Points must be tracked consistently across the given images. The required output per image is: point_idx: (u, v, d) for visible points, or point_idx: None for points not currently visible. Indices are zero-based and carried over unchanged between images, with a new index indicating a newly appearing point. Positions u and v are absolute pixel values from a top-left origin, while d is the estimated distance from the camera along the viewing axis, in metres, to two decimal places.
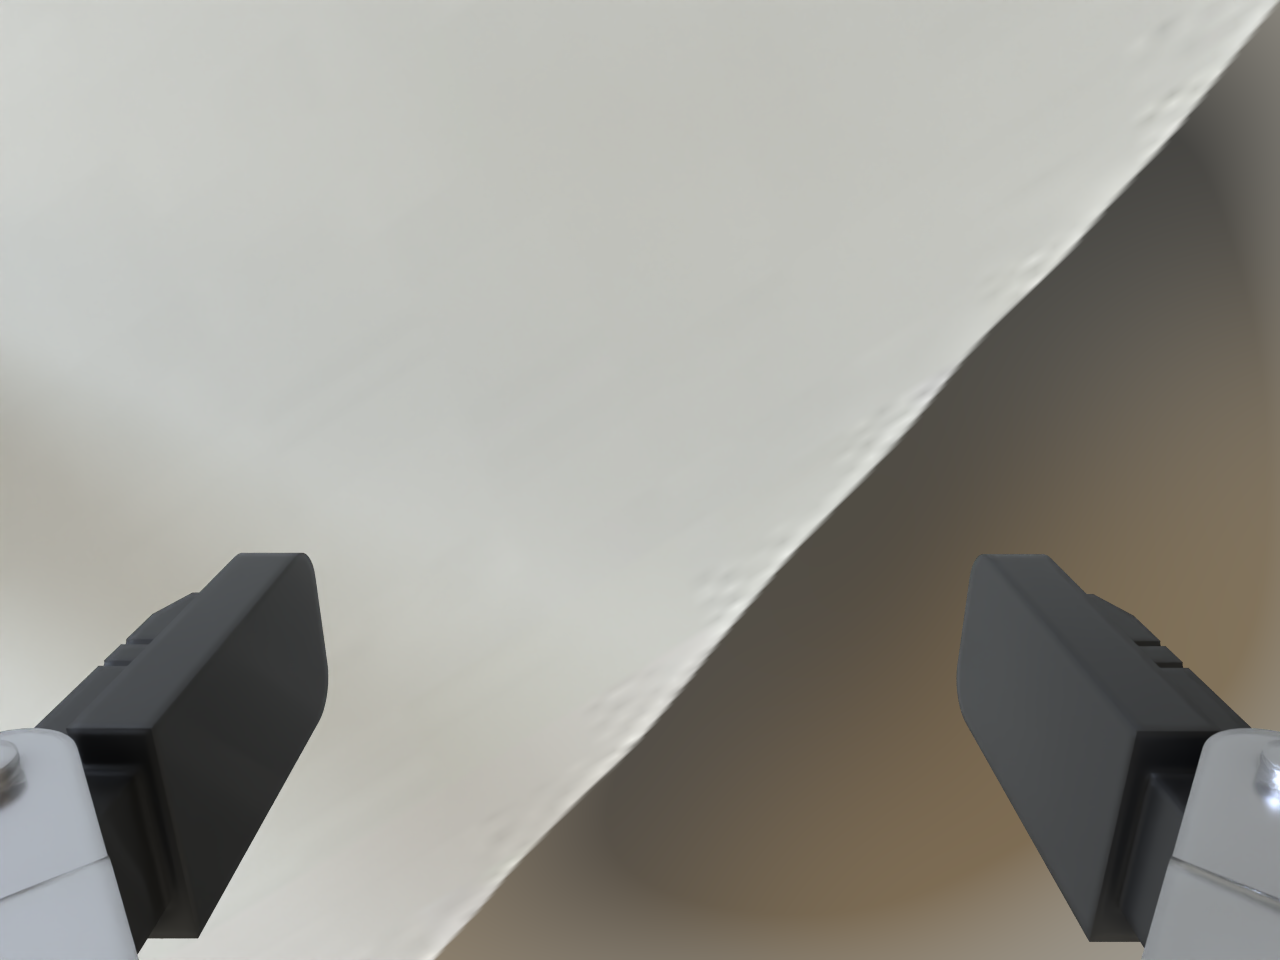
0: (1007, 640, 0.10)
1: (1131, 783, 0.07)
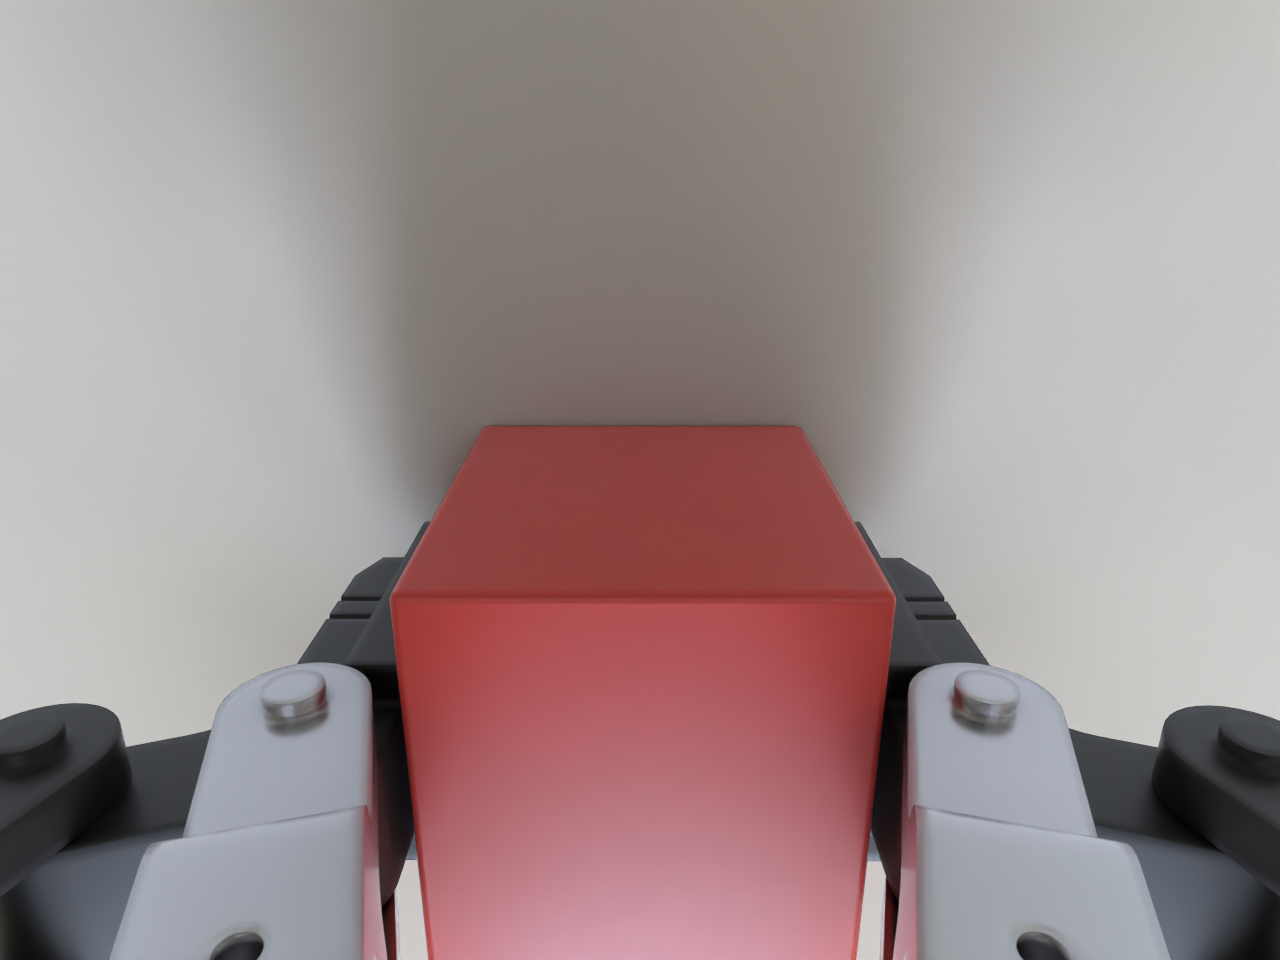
0: None
1: None
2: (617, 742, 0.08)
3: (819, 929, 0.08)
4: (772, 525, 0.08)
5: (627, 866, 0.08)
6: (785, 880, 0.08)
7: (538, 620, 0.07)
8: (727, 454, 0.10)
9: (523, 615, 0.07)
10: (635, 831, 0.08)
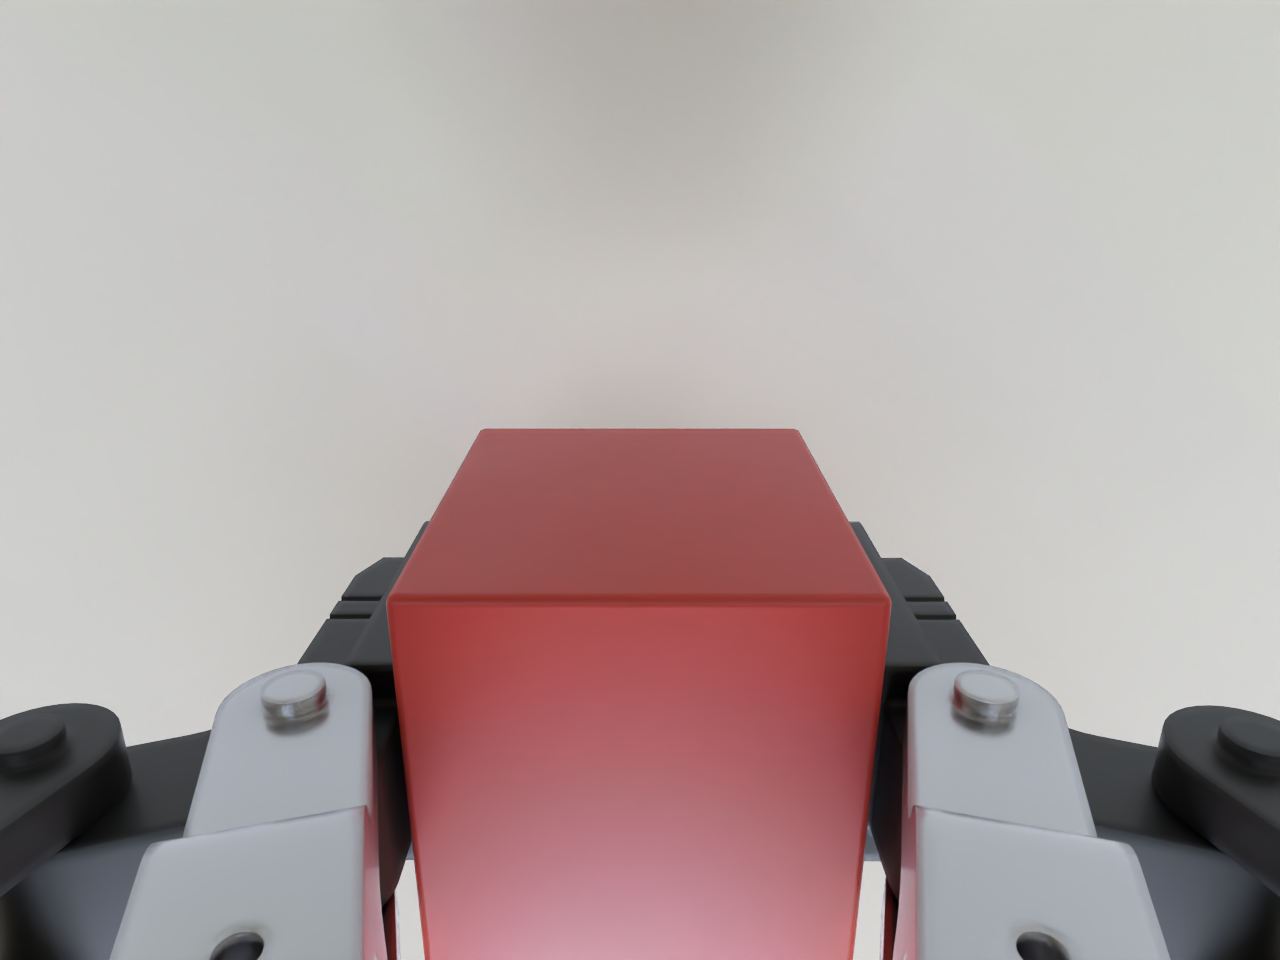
0: None
1: None
2: (614, 745, 0.08)
3: (815, 931, 0.08)
4: (768, 530, 0.08)
5: (624, 869, 0.08)
6: (781, 883, 0.08)
7: (533, 623, 0.07)
8: (724, 456, 0.10)
9: (519, 618, 0.07)
10: (632, 833, 0.08)
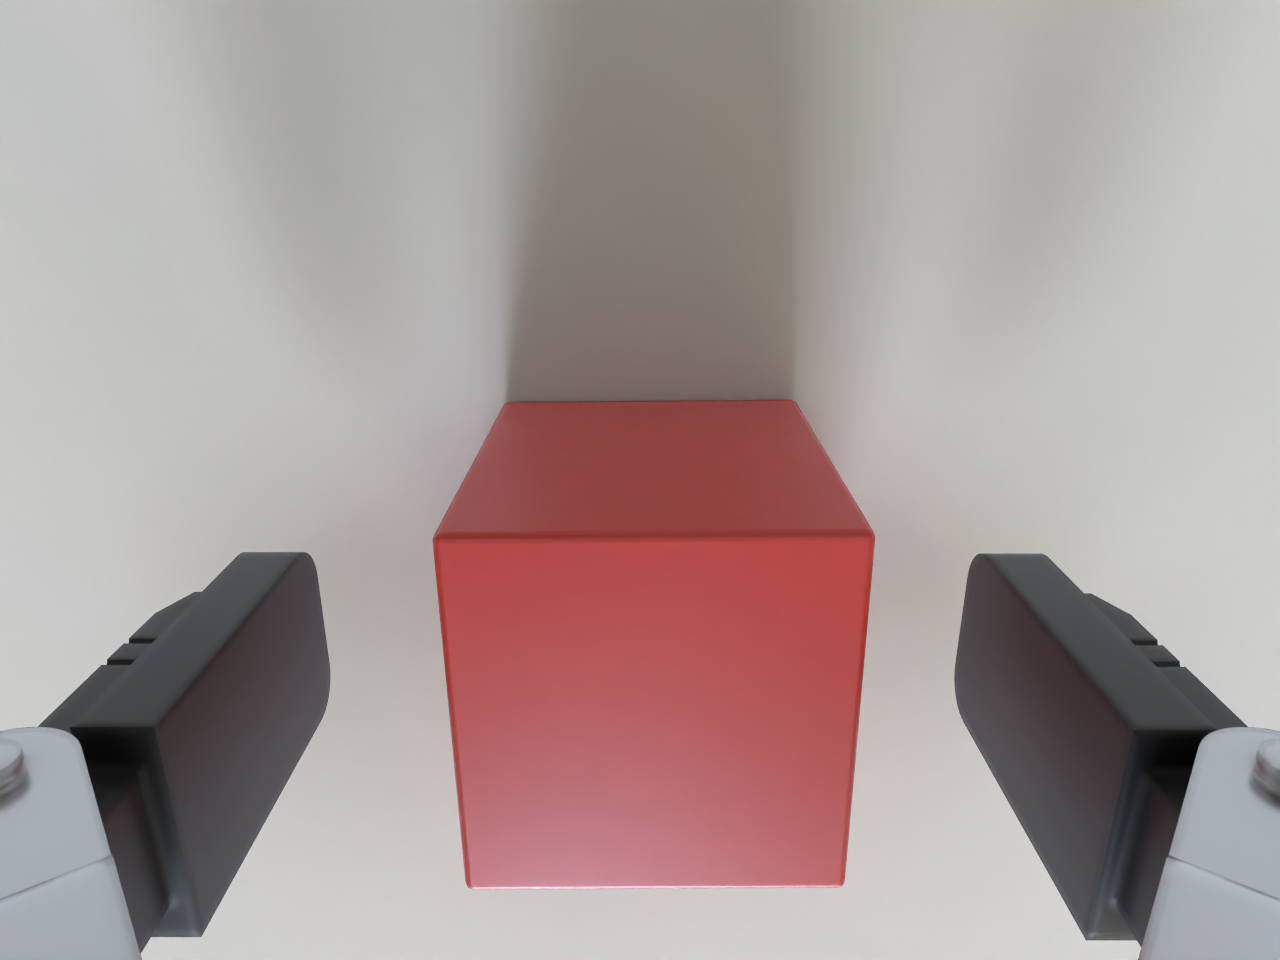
0: (1004, 640, 0.10)
1: (1127, 782, 0.07)
2: (631, 666, 0.09)
3: (812, 838, 0.09)
4: (767, 480, 0.10)
5: (641, 780, 0.09)
6: (781, 793, 0.09)
7: (562, 557, 0.08)
8: (727, 423, 0.12)
9: (549, 553, 0.08)
10: (647, 748, 0.09)
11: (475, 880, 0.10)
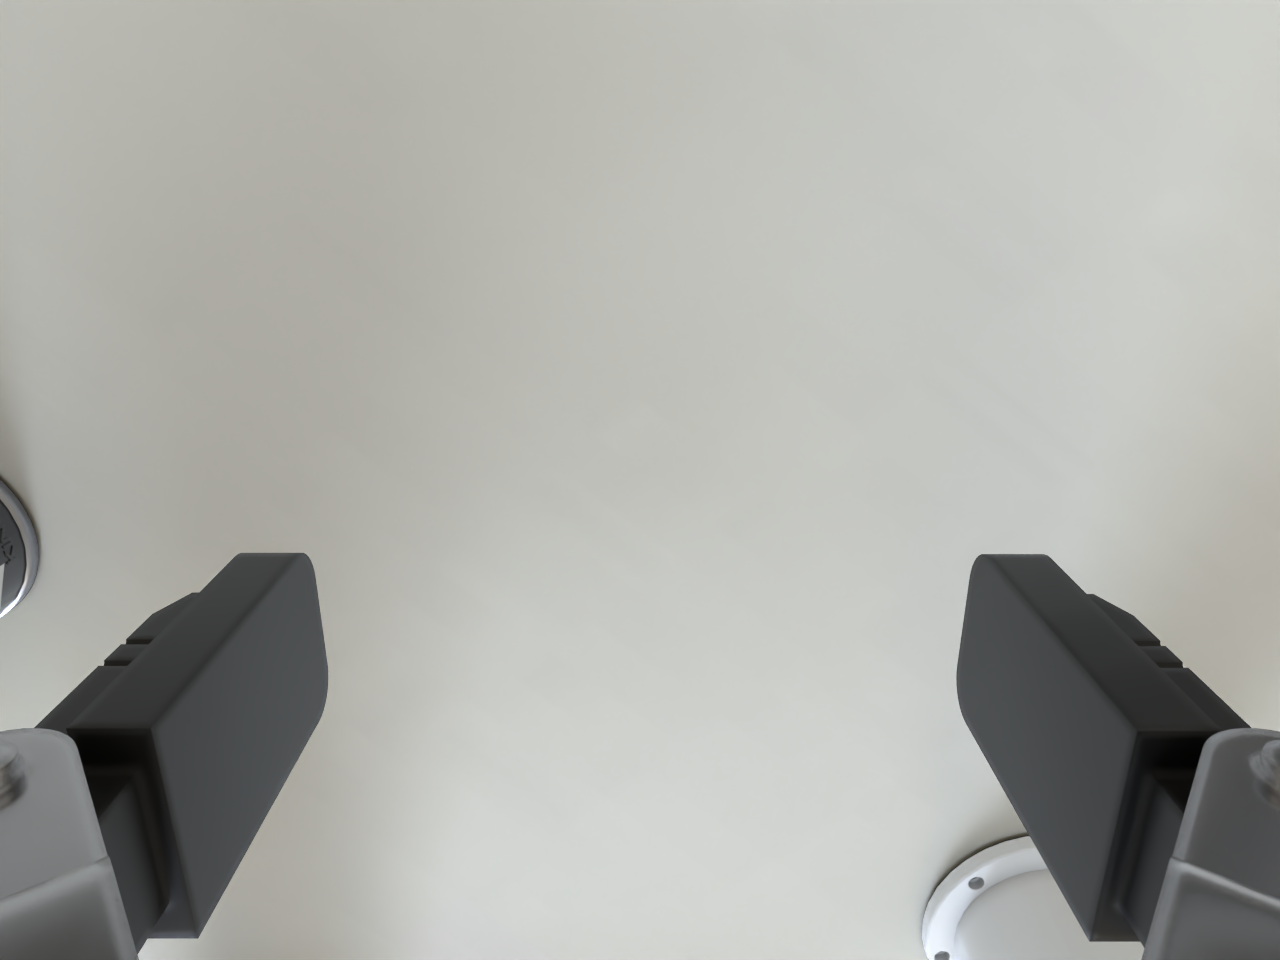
0: (1007, 640, 0.10)
1: (1131, 783, 0.07)
2: None
3: None
4: None
5: None
6: None
7: None
8: None
9: None
10: None
11: None
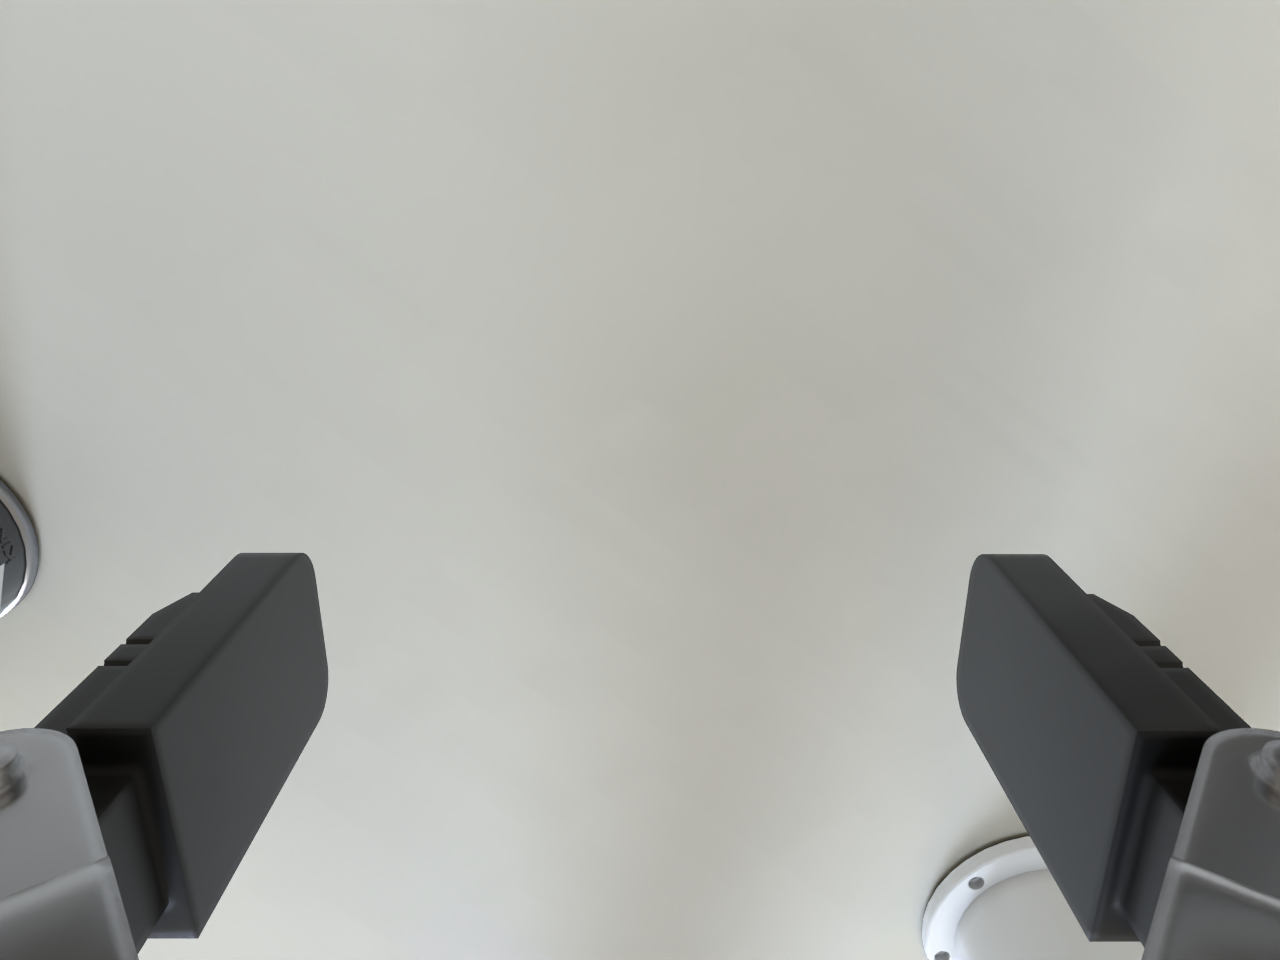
0: (1007, 640, 0.10)
1: (1131, 783, 0.07)
2: None
3: None
4: None
5: None
6: None
7: None
8: None
9: None
10: None
11: None
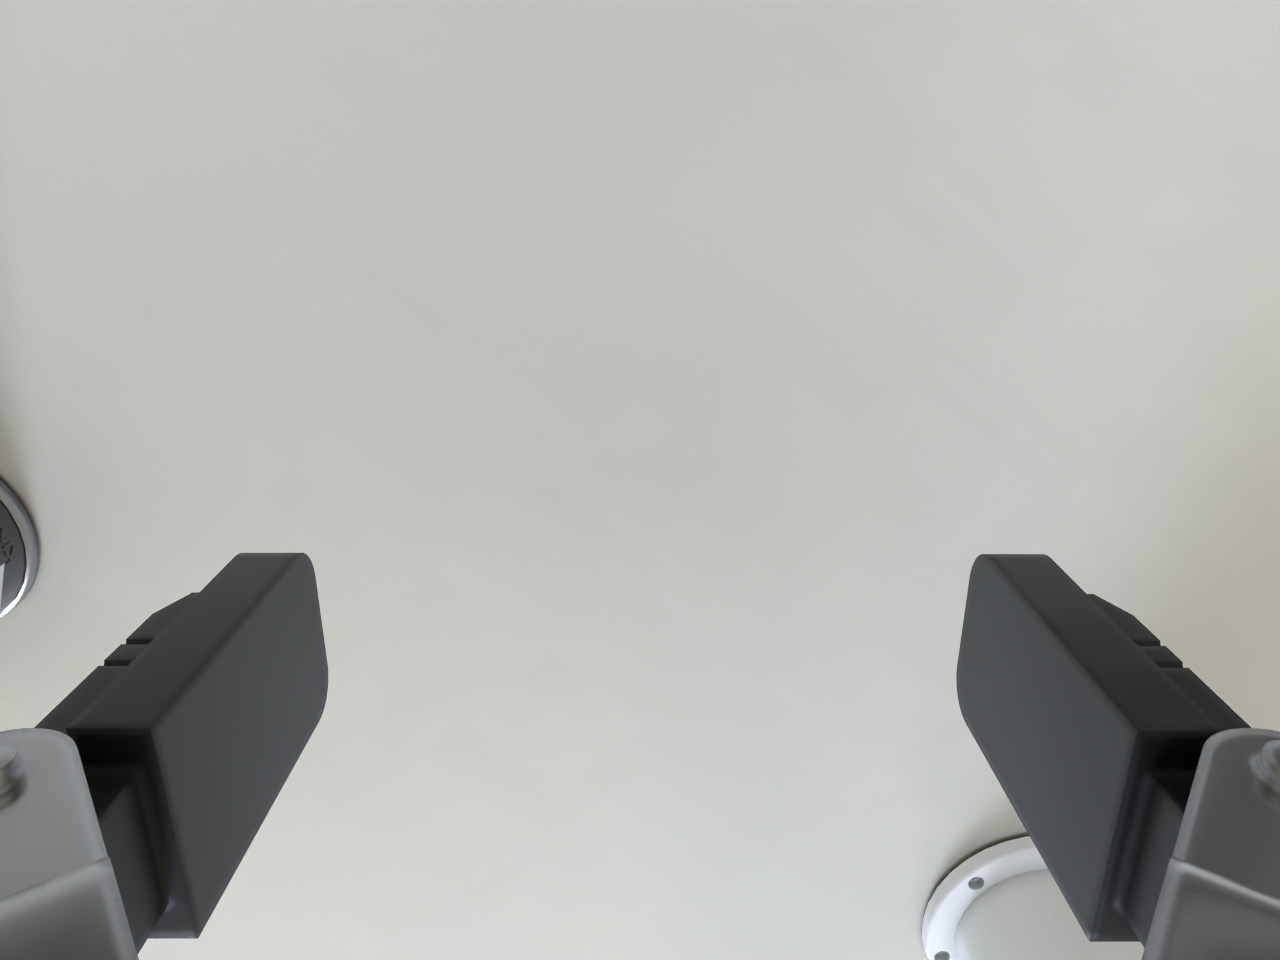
0: (1007, 640, 0.10)
1: (1131, 783, 0.07)
2: None
3: None
4: None
5: None
6: None
7: None
8: None
9: None
10: None
11: None
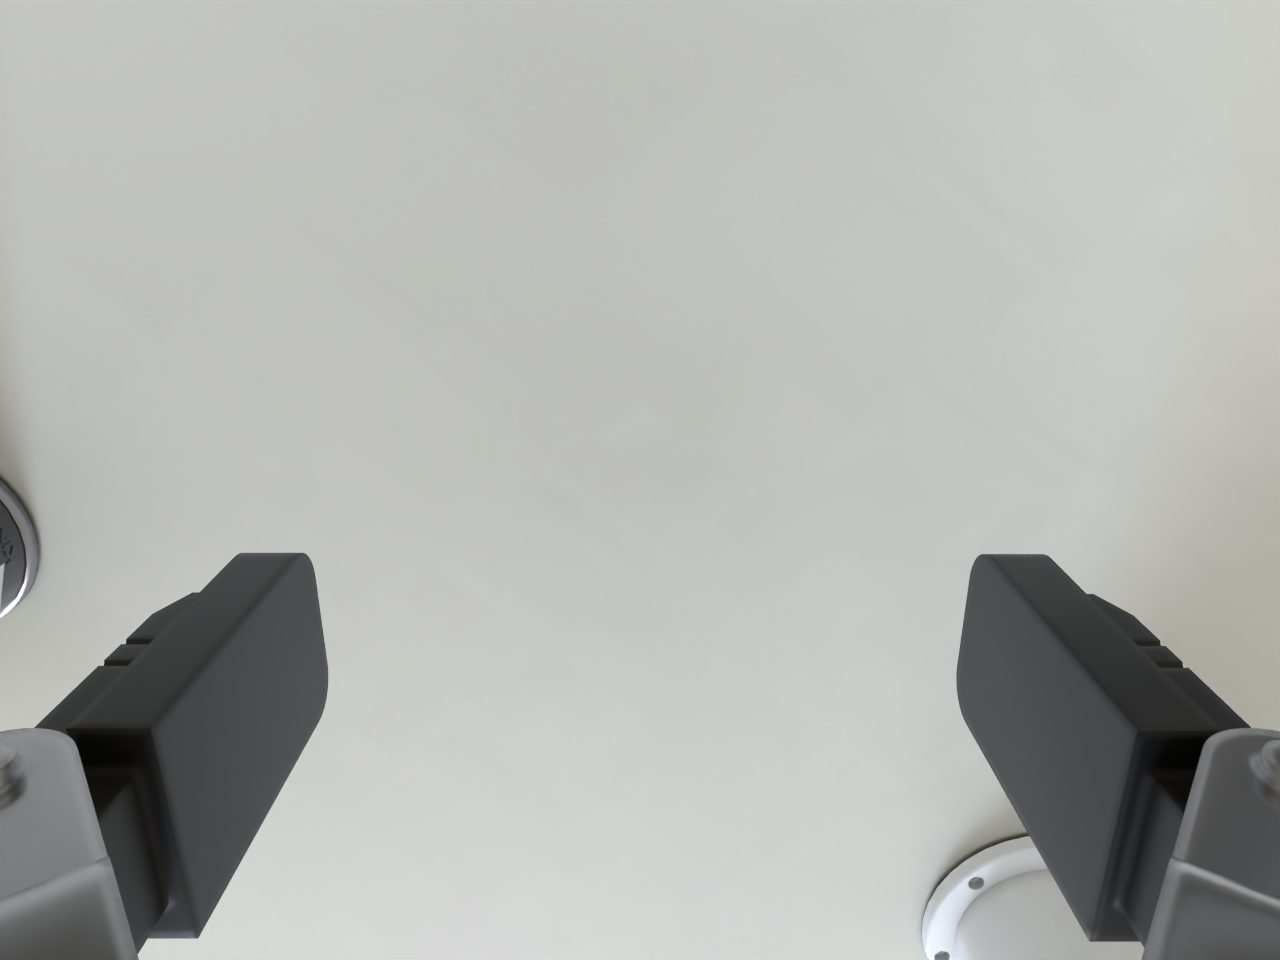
0: (1007, 640, 0.10)
1: (1131, 783, 0.07)
2: None
3: None
4: None
5: None
6: None
7: None
8: None
9: None
10: None
11: None
